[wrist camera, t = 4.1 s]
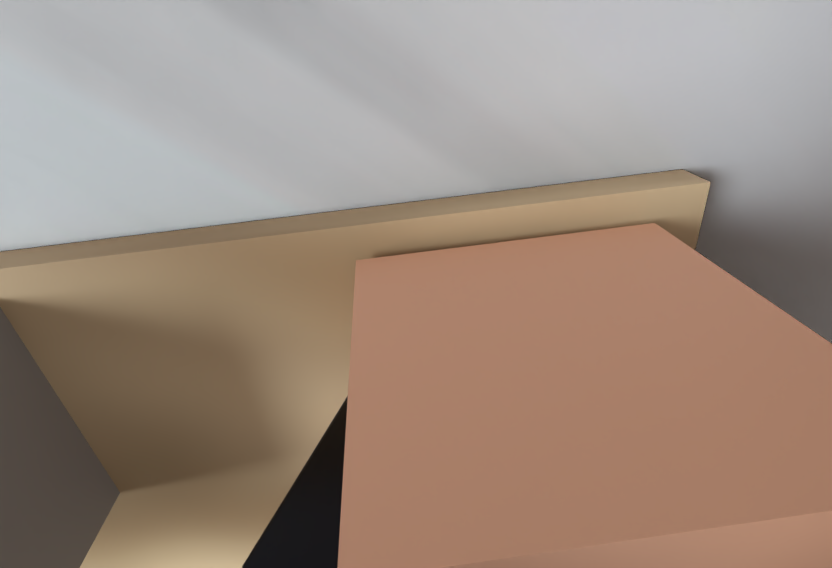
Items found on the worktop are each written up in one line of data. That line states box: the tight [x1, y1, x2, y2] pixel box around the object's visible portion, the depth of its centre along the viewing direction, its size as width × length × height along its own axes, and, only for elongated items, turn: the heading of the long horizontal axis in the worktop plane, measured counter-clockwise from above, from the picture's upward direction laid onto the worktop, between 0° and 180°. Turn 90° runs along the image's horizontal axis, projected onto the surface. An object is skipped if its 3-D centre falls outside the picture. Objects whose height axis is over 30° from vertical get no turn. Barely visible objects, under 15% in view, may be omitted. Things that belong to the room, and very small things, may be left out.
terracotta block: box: [337, 223, 832, 568], centre depth 7 cm, size 5×5×5 cm
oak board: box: [0, 169, 711, 568], centre depth 11 cm, size 15×18×1 cm
